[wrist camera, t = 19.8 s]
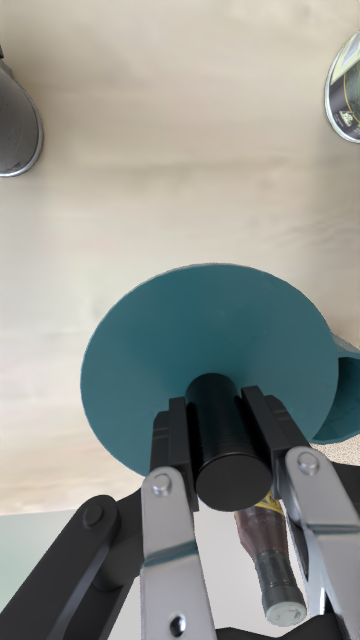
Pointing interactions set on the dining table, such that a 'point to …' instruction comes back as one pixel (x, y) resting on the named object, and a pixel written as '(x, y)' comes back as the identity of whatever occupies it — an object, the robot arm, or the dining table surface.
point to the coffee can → (345, 91)
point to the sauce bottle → (271, 561)
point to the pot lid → (208, 372)
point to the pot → (343, 398)
